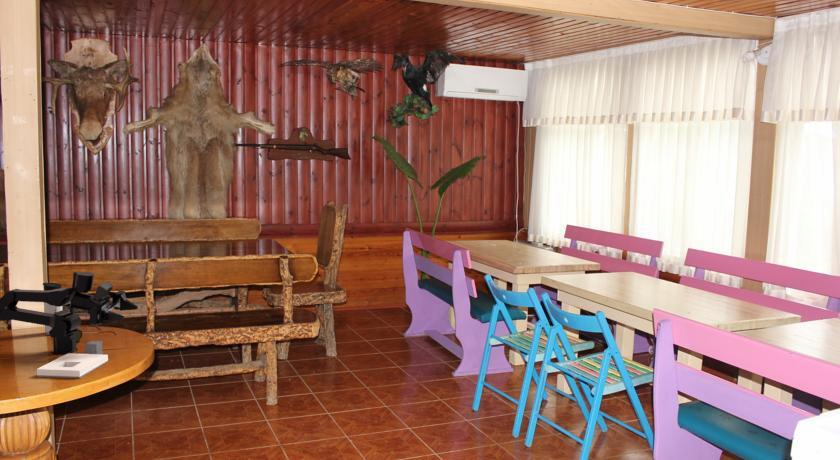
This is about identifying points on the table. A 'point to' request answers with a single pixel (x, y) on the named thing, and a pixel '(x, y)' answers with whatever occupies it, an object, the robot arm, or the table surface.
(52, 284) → the travel mug
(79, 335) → the sunglasses
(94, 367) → the socket plate
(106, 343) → the table surface
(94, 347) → the block
